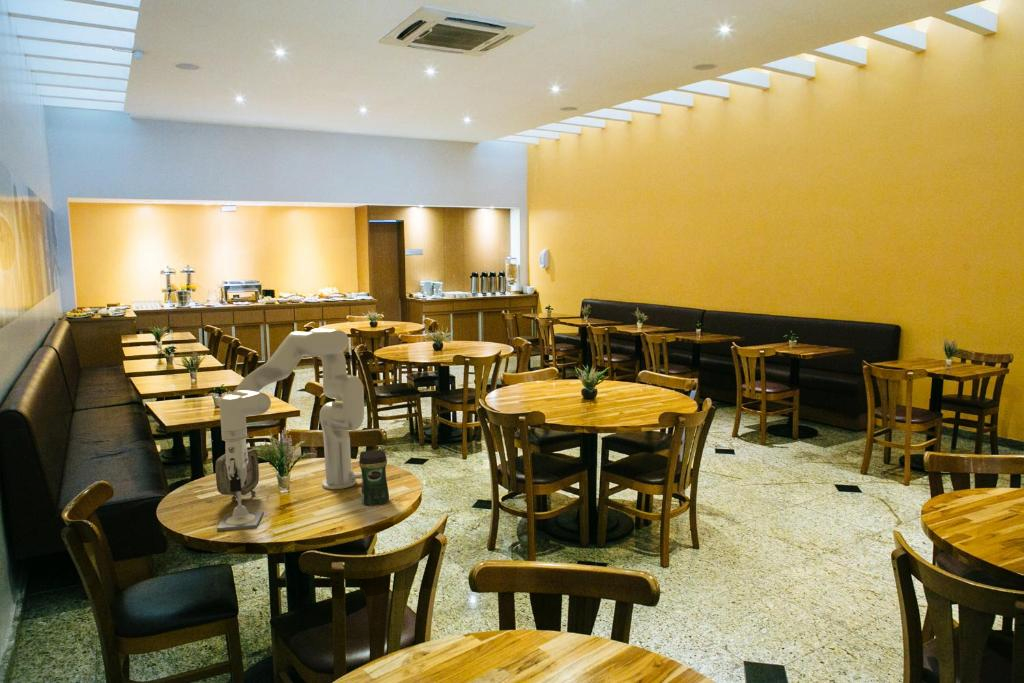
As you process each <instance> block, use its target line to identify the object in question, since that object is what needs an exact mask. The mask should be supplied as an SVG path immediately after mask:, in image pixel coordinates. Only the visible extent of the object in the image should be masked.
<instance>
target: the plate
mask: <svg viewBox="0 0 1024 683" xmlns="http://www.w3.org/2000/svg"><path fill="white" fill-rule="evenodd" d="M248 512H249V513H248V514H247V515H245V516H241V517H234V516H232V514H233V513H225V514H224V517H223V518H222V519H221V520H220V522H219V524H218V526H217V527H216V531H217V530H218V531H217V532H220V531H219V530H225V531H234V529H237V530H244V529H245V530H246V528H249V529H257V527H258V526H259V524H260V522H261V520H262V518H263V516H264V510H260V511H248ZM262 515H263V516H262ZM261 517H262V518H261Z"/></svg>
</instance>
